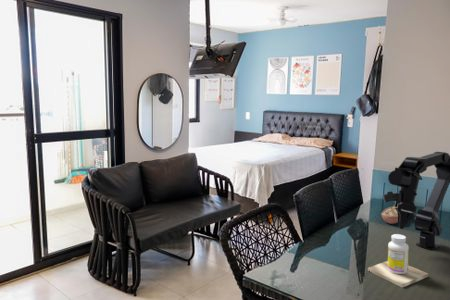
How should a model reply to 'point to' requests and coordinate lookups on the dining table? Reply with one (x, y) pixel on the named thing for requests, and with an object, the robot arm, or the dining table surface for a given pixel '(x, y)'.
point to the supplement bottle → (398, 254)
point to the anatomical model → (390, 215)
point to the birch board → (398, 279)
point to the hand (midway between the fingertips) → (400, 227)
